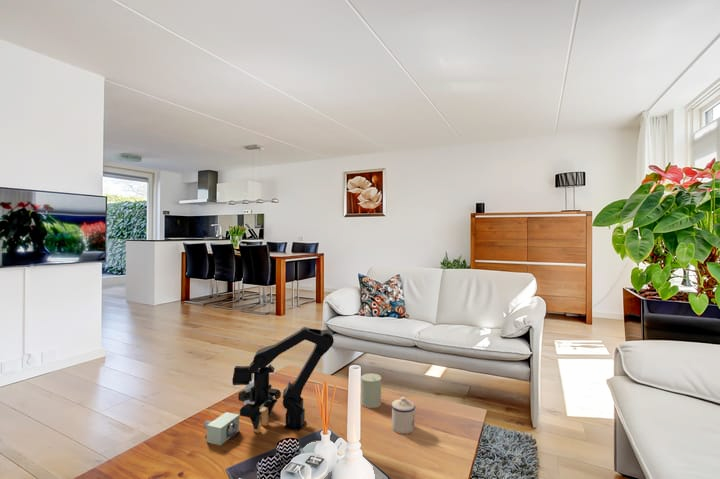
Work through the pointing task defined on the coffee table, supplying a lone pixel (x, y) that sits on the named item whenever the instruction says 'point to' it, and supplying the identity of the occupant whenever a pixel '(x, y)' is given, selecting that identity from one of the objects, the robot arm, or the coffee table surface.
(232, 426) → the pin
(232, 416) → the block
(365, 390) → the can
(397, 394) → the coffee table surface
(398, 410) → the teacup with lid
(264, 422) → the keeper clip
